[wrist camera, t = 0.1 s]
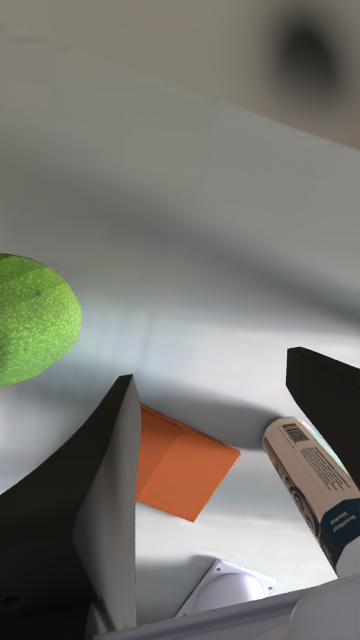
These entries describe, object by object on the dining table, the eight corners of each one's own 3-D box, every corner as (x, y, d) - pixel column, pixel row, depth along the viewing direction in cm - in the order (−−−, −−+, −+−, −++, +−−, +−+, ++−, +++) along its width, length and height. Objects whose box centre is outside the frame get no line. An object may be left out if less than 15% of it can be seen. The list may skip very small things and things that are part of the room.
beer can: (250, 443, 25) (331, 600, 13) (279, 405, 24) (390, 534, 13) (288, 463, 26) (394, 626, 14) (316, 426, 25) (452, 566, 14)
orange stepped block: (192, 519, 26) (193, 525, 26) (75, 472, 24) (73, 478, 23) (239, 451, 25) (242, 456, 24) (120, 394, 23) (119, 398, 22)
